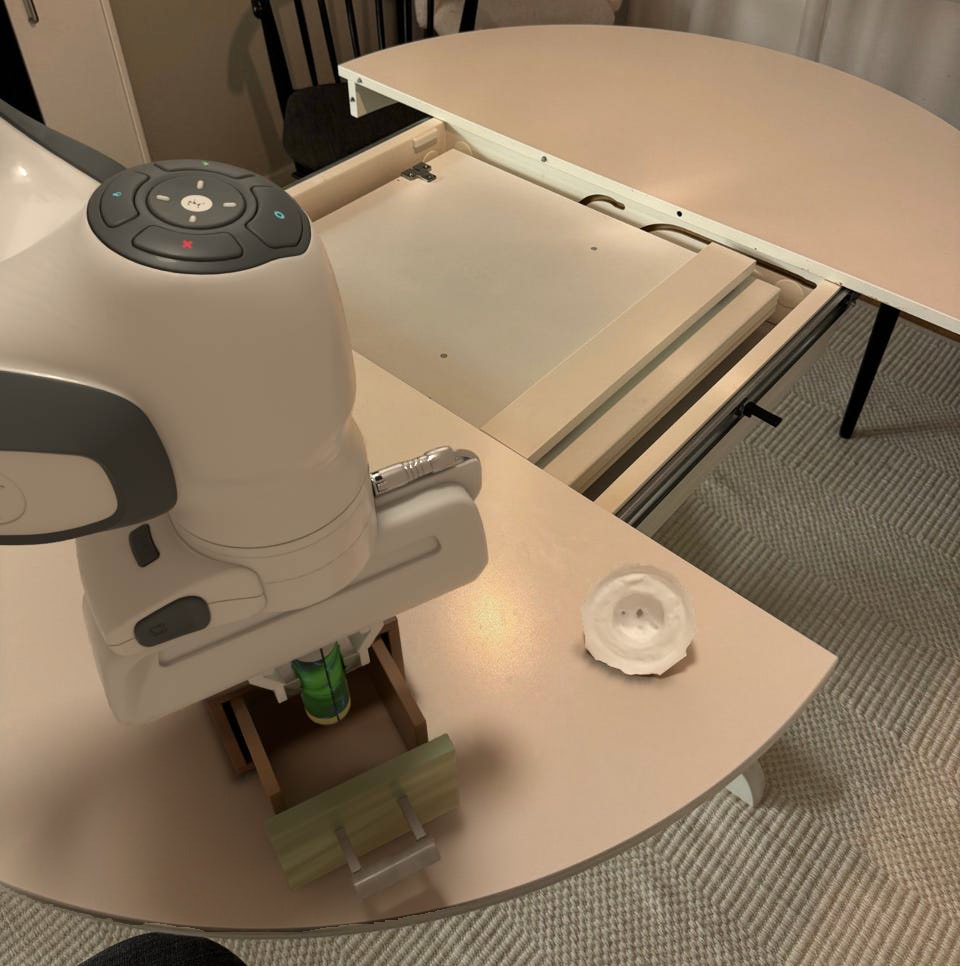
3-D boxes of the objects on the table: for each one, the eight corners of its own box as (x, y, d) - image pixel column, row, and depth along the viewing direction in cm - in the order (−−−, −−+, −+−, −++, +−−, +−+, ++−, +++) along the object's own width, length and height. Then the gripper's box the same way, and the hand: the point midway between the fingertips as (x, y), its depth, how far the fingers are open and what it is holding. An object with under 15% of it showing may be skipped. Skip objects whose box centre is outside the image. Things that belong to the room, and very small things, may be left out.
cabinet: (408, 696, 68) (398, 619, 61) (238, 775, 64) (205, 703, 57) (332, 554, 77) (315, 472, 70) (178, 616, 73) (143, 536, 66)
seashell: (646, 660, 74) (727, 612, 70) (625, 697, 70) (710, 649, 65) (580, 580, 74) (656, 528, 70) (555, 613, 70) (635, 559, 65)
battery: (316, 680, 58) (291, 587, 51) (358, 691, 57) (338, 598, 50) (298, 719, 56) (269, 629, 49) (341, 731, 55) (317, 641, 48)
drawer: (491, 864, 59) (490, 810, 53) (318, 957, 56) (297, 910, 50) (375, 648, 70) (364, 584, 64) (224, 715, 66) (198, 653, 61)
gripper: (450, 396, 49) (459, 563, 59) (37, 548, 42) (127, 705, 53) (511, 476, 45) (509, 640, 55) (67, 655, 39) (157, 803, 49)
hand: (319, 673), depth 54 cm, fingers closed on battery, 2 cm apart
